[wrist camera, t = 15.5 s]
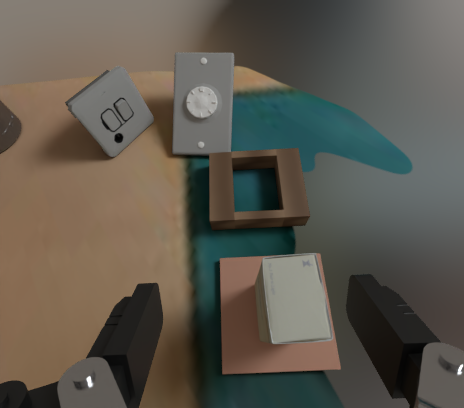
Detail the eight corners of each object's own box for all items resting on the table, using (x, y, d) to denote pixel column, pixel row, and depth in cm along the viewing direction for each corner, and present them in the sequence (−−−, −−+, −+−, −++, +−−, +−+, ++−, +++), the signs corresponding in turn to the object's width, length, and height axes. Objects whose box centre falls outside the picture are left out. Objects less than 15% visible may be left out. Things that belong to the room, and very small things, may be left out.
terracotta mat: (222, 373, 29) (222, 374, 29) (220, 260, 35) (219, 258, 34) (338, 368, 29) (341, 369, 28) (318, 255, 34) (320, 253, 34)
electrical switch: (113, 160, 42) (76, 112, 34) (92, 146, 44) (52, 98, 36) (156, 121, 45) (132, 68, 37) (135, 110, 47) (107, 57, 39)
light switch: (169, 152, 40) (172, 48, 39) (180, 157, 46) (182, 67, 45) (229, 154, 40) (233, 49, 39) (232, 159, 45) (235, 67, 45)
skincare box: (253, 283, 32) (259, 253, 22) (292, 280, 32) (316, 249, 22) (259, 344, 30) (268, 345, 19) (301, 341, 30) (335, 340, 19)
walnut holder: (212, 230, 36) (209, 221, 34) (211, 165, 41) (209, 152, 38) (305, 225, 36) (310, 216, 34) (294, 160, 41) (298, 148, 38)
